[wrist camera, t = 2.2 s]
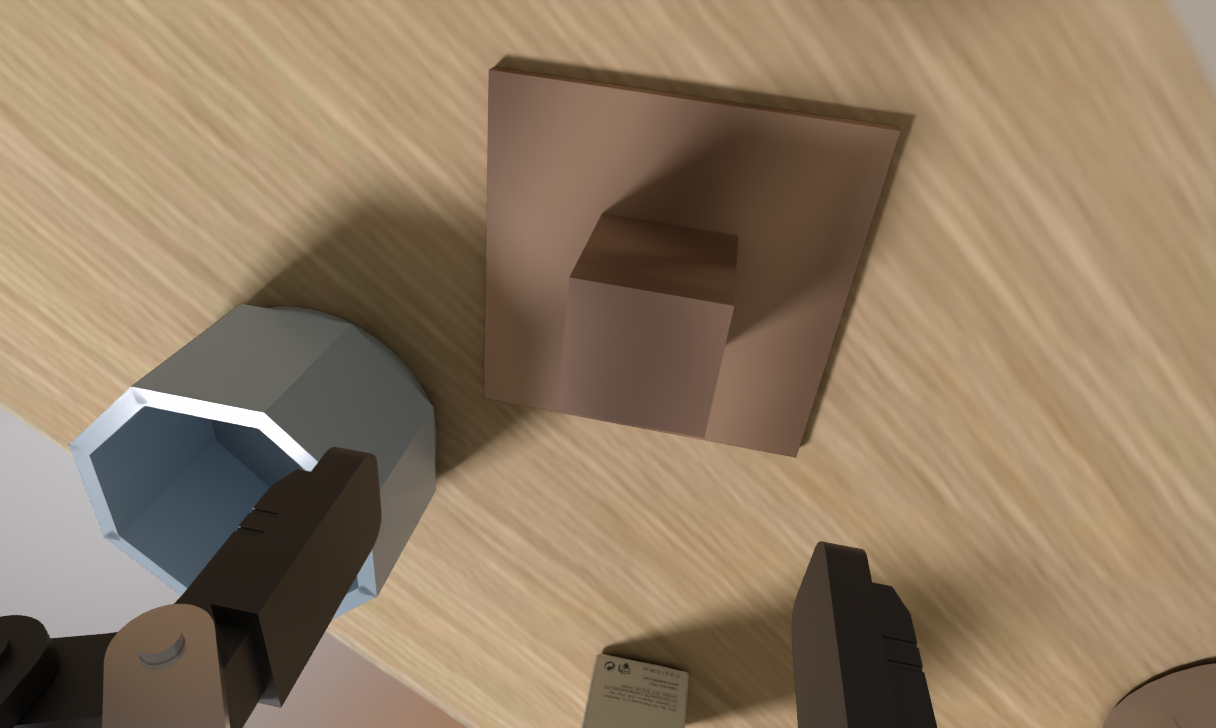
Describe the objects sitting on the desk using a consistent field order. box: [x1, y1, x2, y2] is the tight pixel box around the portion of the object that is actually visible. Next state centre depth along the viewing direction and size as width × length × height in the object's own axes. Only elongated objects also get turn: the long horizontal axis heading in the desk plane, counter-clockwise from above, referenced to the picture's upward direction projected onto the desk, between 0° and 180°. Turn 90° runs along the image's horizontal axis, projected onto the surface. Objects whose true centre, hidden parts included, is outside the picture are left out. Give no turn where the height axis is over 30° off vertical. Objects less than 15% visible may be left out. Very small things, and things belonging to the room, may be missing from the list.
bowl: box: [69, 304, 437, 619], centre depth 25 cm, size 10×10×6 cm
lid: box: [484, 67, 901, 458], centre depth 21 cm, size 11×11×6 cm
